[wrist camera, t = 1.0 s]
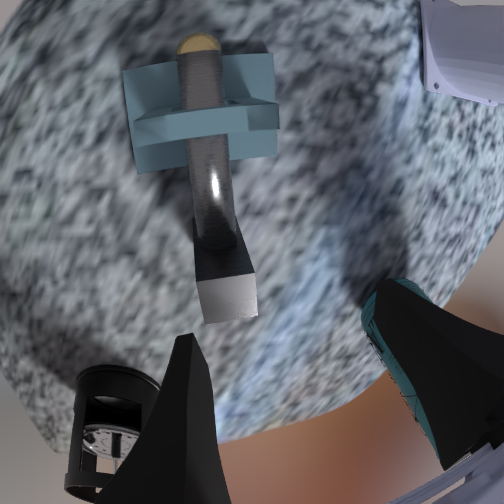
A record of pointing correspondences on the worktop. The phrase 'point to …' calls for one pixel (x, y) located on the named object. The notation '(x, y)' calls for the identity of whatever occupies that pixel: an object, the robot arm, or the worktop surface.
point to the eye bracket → (201, 112)
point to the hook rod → (213, 191)
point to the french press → (105, 424)
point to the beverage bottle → (391, 362)
